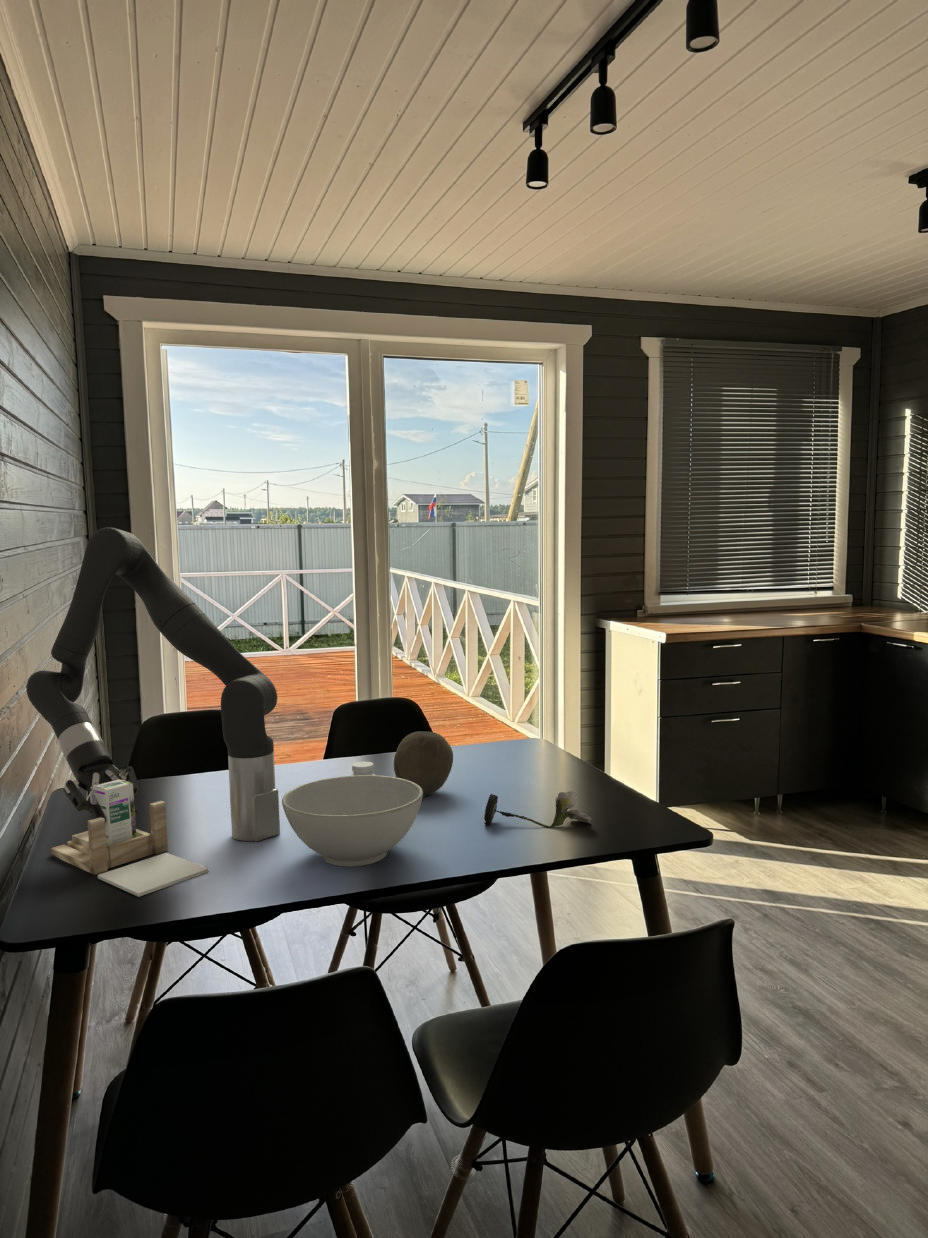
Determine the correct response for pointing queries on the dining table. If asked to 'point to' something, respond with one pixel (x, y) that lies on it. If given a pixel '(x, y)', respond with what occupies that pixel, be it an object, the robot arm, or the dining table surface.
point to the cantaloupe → (424, 760)
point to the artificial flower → (562, 805)
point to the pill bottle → (362, 768)
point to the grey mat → (152, 874)
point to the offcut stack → (78, 841)
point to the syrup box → (117, 810)
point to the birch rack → (117, 844)
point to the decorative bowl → (353, 816)
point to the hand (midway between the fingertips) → (119, 819)
